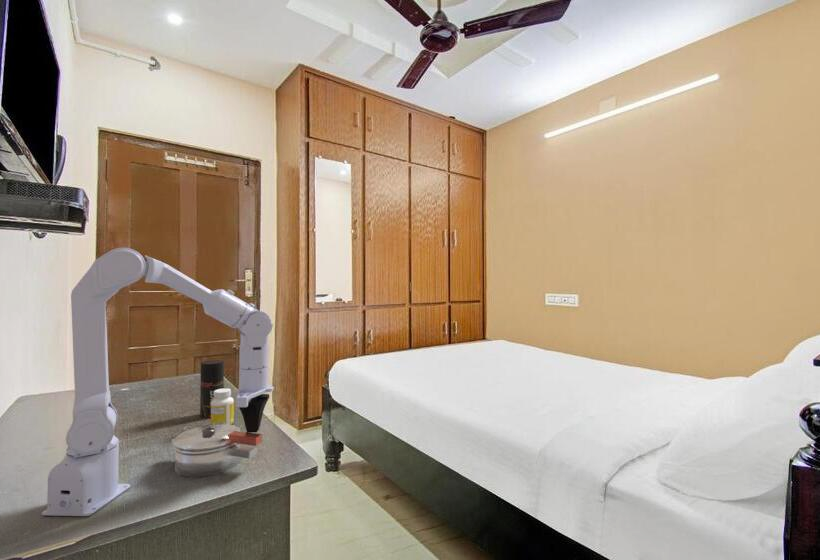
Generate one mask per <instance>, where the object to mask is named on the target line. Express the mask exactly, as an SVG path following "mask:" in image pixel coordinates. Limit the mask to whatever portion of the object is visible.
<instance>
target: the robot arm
mask: <svg viewBox="0 0 820 560" xmlns="http://www.w3.org/2000/svg"><path fill="white" fill-rule="evenodd" d="M145 260H146V261H145ZM143 277H145V279H144V283H151V284H161V285H165V286H167V287H169V288H171V289H172V290H175V291H176V292H178V293H179V294H183V295H185V296H186V297H188V298H190V299H192V300H194V301H197V302H198V303H199V304H202V306H203V312H204V313H205V315H207V316H210V317H211V318H213V319H215V320H217V321H219V322H220V323H222V324H224V325H227V326H228V327H230V328H232V329H237V330H238V331H239V333H240V345H239V355H238V357H239V362H238V363H239V364H238V365H239V366H238V367H239V369H238V371H239V372H238V378H239V379H238V388H237V397H236V396H235V397H236V398H235V407H236V408H238V409H239V410H240V412H241V415H242V417H243V418H242V419H243V422H244V426H245V427H244V428H245V430H246V431H245V432H248V433H258V431H259V430H260V427H261V423H262V418H263V415H264V414H263V413H264V410H265V407H266V405H267V402H268V400H269V399H270V394H267V393H271V392H273V391H274V390H275V389H274V386H271V385H269V350H270V349H269V347H270V346H269V334H271V332H272V330H273V323H272V320H271V318H270V316H269V315H268V314H267V313H266V312H264V311H261V310H259V309H257V308H255V306H256V305H255V304H253V303H252V302H249V303H247V302H246V301H244V300H242V299H240V298H239V297H237V296H235V292H234V291H232V290H231V289H227V291H226V290H225V289H223V288H221V289H220V288H219V289H215V290H211V289H209V288H207V287H206V286H204V285H203V284H201V283H199V282H197V281H196V280H194V279H193V278H191V277H189V276H188V275H186V274H184V273H183V272H181V271H179V270H178V269H176V268H175V267H173V266H171V265H170V264H167V263H165V262H162V261H161V260H158V259H155V258H153V257H150V256H149V255H144V257H143V255H142V254H141V253H140V252H139V251H137V250H135V249H133V248H130V247H117V248H114V249H111V250H109V251H108V252H106V253H104V254H102V255H101V256H100V257H98V258H96V259H95V260H94V261H93V262H92V265H90V267H89V269H88V270H87V271H86V272H85V274H84V275H83V276H82V277H81V279H80V280H79V281H78V282H77V283H76V285H75V286H74V288H73V289H72V290H71V294H70V301H71V303H70V305H71V329H72V349H73V350H72V355H73V357H72V359H73V380H74V381H73V382H74V402H73V406H72V422H71V425H70V427H69V429H68V430H67V432H66V434H65V435H66V436H65V442H66V445H67V448H66V451H65V455H64V457H63V458H62V460H60V461H59V462H58V463H57V464H56V465H55V466H53V468H52V469H51V470H50V471H49V473H48V476H47V501H46V502H47V504H46V505H47V509H45V510H43V511H42V512H41V514H42V516H53V517H54V516H59V517H60V516H62V517H63V516H64V517H69V516H70V517H90V516H92V515H93V514H95V513H96V512H98V511H99V510H100V509H102V508H103V507H104V506H106V505H107V504H109V503H110V502H112V501H114V499H116V498H117V497H118V496H120V495H122V494H123V493H124V492H126V491H127V490H128V489H130V488H131V483H119V457H120V455H119V453H120V440H119V438H118V437H117V436H116V435H115V426H116V424H118V423H117V422H118V420H119V418H118V417H119V415H118V411H117V409H116V408H115V407H114V405H113V404H112V400H111V398H112V397H111V391H110V383H109V382H110V381H109V359H108V358H109V357H108V352H109V351H108V332H107V331H108V329H107V328H108V327H107V324H108V323H107V306H106V305H107V301H108V300H110V299H111V298H112V297H113V296H114V295H116V294H117V293H118V292H119V291H120V290H121V289H123V288H125V287H128V286H130V285H133V284H134V283H136V282H138V281H140V280H141V279H142V278H143Z"/></svg>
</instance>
